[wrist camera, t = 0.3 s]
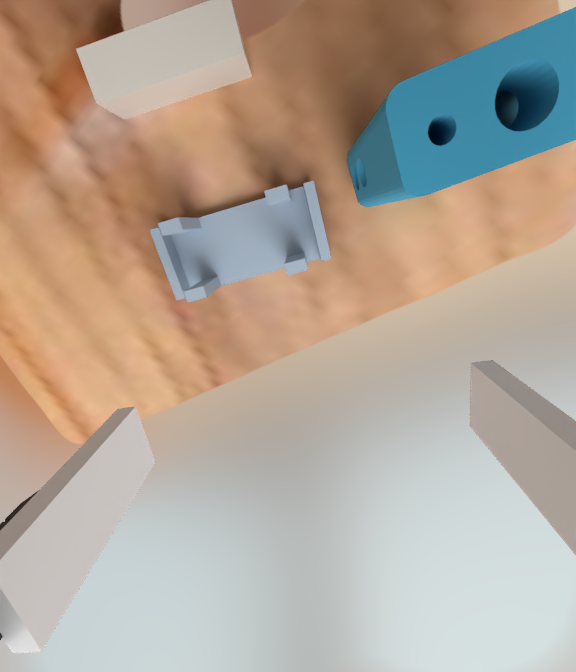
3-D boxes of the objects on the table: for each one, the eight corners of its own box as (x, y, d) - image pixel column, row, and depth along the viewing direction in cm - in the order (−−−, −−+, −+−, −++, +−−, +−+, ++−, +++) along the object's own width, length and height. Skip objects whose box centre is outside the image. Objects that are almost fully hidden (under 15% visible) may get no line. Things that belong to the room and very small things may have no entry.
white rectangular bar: (125, 120, 33) (96, 103, 29) (108, 74, 32) (75, 49, 27) (252, 77, 32) (244, 53, 27) (240, 27, 31) (229, -8, 26)
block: (350, 212, 35) (406, 202, 16) (336, 163, 34) (380, 90, 15) (464, 169, 34) (675, 102, 15) (454, 115, 32) (676, -36, 13)
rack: (187, 293, 39) (163, 308, 32) (163, 229, 37) (132, 231, 30) (328, 255, 37) (334, 262, 30) (312, 184, 34) (314, 175, 28)
